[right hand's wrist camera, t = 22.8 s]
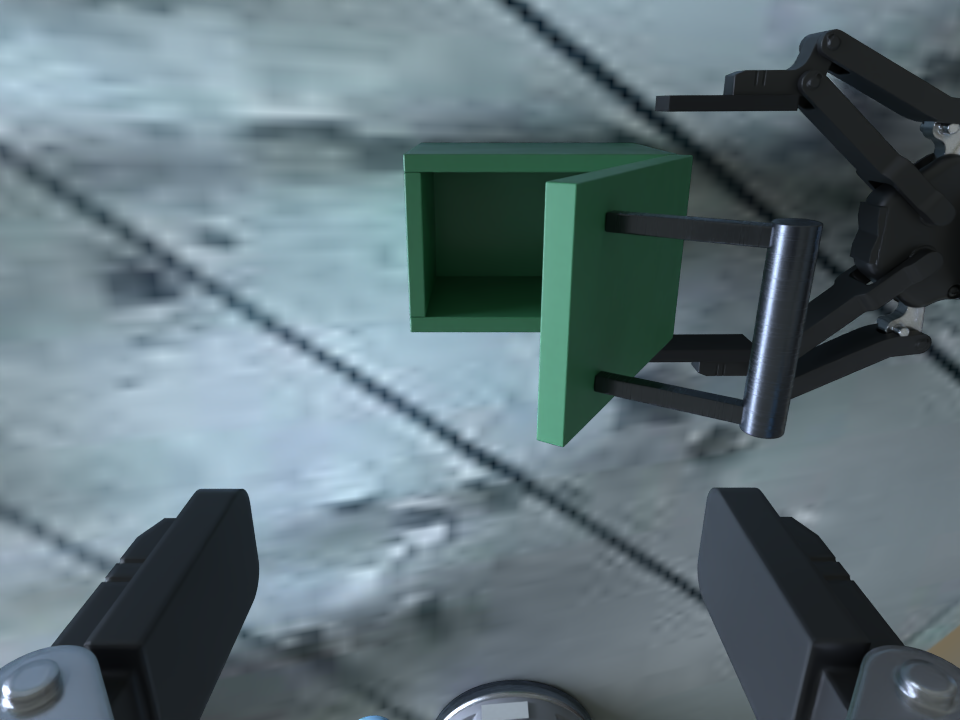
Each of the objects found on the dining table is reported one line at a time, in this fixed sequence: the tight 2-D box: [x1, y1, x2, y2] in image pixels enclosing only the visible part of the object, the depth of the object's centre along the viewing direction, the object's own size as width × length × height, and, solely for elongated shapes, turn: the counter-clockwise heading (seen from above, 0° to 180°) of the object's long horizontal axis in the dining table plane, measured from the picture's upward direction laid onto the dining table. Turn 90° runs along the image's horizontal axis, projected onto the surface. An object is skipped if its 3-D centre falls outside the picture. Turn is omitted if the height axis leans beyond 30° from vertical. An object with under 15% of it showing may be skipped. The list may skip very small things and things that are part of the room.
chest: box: [403, 143, 677, 332], centre depth 39 cm, size 14×9×10 cm
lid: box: [537, 155, 823, 447], centre depth 27 cm, size 14×9×8 cm
